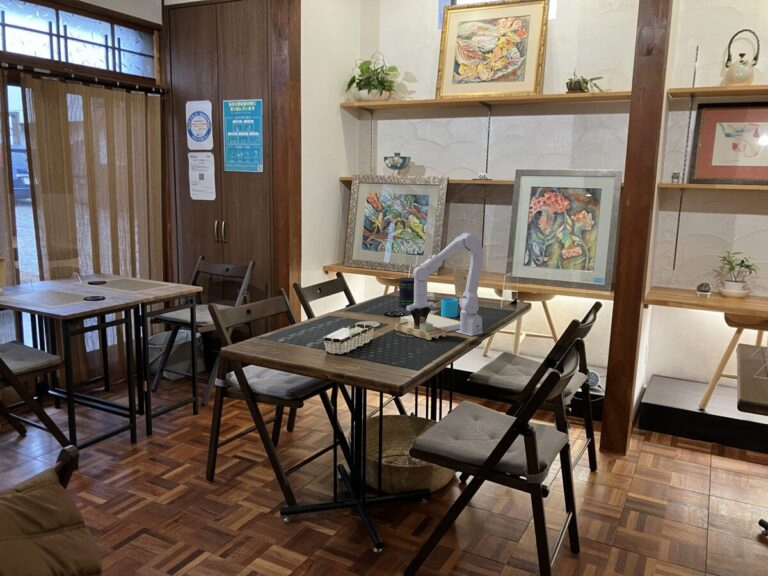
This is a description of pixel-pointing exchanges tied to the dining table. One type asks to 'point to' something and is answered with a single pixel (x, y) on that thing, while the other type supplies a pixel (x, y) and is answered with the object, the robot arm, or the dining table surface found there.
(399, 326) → the tan open box
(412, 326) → the off-white square block
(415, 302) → the robot arm
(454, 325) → the dock
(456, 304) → the mug
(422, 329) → the pale green block
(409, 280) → the storage jar
